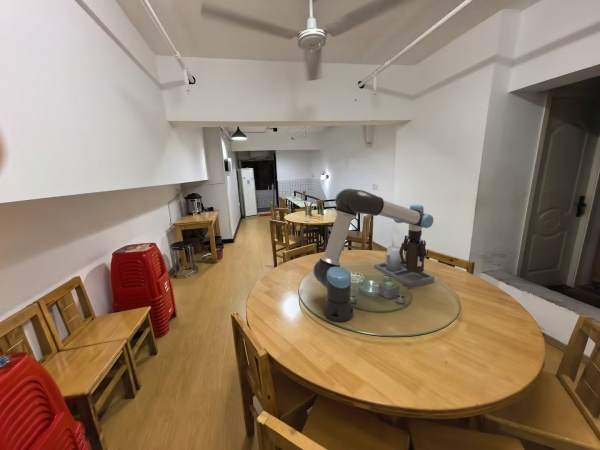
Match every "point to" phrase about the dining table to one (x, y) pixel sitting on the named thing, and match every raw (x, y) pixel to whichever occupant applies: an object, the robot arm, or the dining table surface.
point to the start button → (389, 284)
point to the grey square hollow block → (388, 290)
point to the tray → (406, 276)
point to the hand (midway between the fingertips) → (412, 262)
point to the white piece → (393, 259)
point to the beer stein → (411, 257)
